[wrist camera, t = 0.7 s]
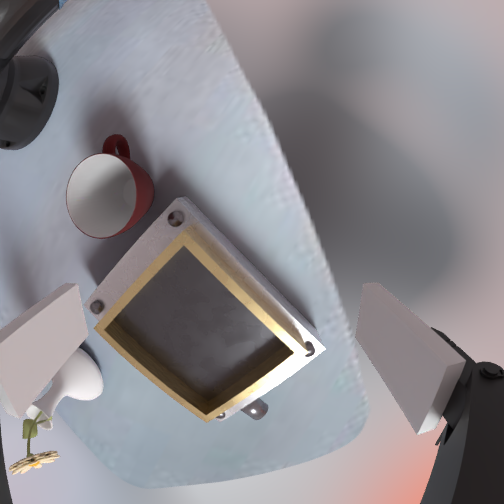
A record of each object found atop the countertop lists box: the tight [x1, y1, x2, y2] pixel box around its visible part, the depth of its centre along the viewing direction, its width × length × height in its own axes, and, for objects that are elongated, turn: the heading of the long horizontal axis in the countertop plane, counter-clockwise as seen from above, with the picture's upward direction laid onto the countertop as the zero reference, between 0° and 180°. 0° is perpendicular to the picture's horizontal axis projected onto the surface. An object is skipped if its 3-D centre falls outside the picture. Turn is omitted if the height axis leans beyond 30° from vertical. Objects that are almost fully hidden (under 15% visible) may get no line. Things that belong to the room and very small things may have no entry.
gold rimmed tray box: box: [84, 196, 325, 423], centre depth 34 cm, size 28×18×8 cm, turn 43°
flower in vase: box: [9, 347, 103, 474], centre depth 27 cm, size 13×11×25 cm
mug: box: [66, 134, 154, 239], centre depth 29 cm, size 11×8×10 cm
